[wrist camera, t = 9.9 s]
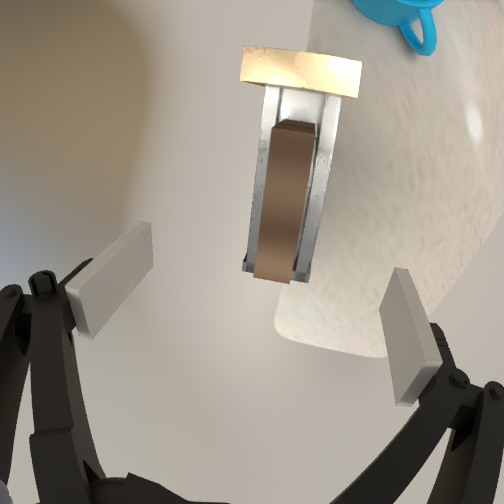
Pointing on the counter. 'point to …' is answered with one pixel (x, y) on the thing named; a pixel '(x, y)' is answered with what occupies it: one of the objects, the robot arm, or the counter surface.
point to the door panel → (284, 198)
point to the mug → (404, 19)
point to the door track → (300, 109)
